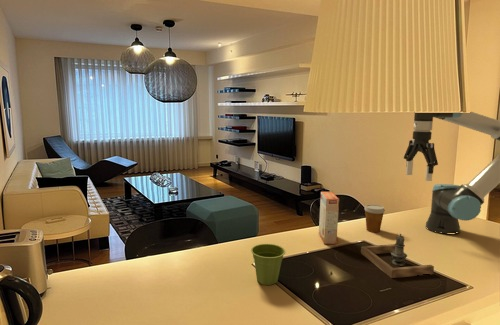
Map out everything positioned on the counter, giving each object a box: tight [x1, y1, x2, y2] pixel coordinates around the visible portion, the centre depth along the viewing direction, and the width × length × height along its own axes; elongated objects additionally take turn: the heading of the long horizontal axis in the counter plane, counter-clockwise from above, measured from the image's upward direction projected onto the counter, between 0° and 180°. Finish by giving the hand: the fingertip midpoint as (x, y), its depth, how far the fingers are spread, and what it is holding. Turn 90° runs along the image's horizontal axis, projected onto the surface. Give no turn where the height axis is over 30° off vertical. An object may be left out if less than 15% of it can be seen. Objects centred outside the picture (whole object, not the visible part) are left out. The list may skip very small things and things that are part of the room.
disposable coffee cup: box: [364, 204, 386, 233], centre depth 177 cm, size 10×10×12 cm
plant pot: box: [250, 243, 286, 286], centre depth 125 cm, size 12×12×11 cm
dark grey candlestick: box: [390, 233, 408, 267], centre depth 140 cm, size 6×6×12 cm
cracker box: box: [318, 191, 340, 245], centre depth 164 cm, size 14×6×21 cm, turn 179°
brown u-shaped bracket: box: [360, 243, 435, 279], centre depth 141 cm, size 17×22×3 cm
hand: (418, 177), depth 163 cm, fingers open, 13 cm apart
